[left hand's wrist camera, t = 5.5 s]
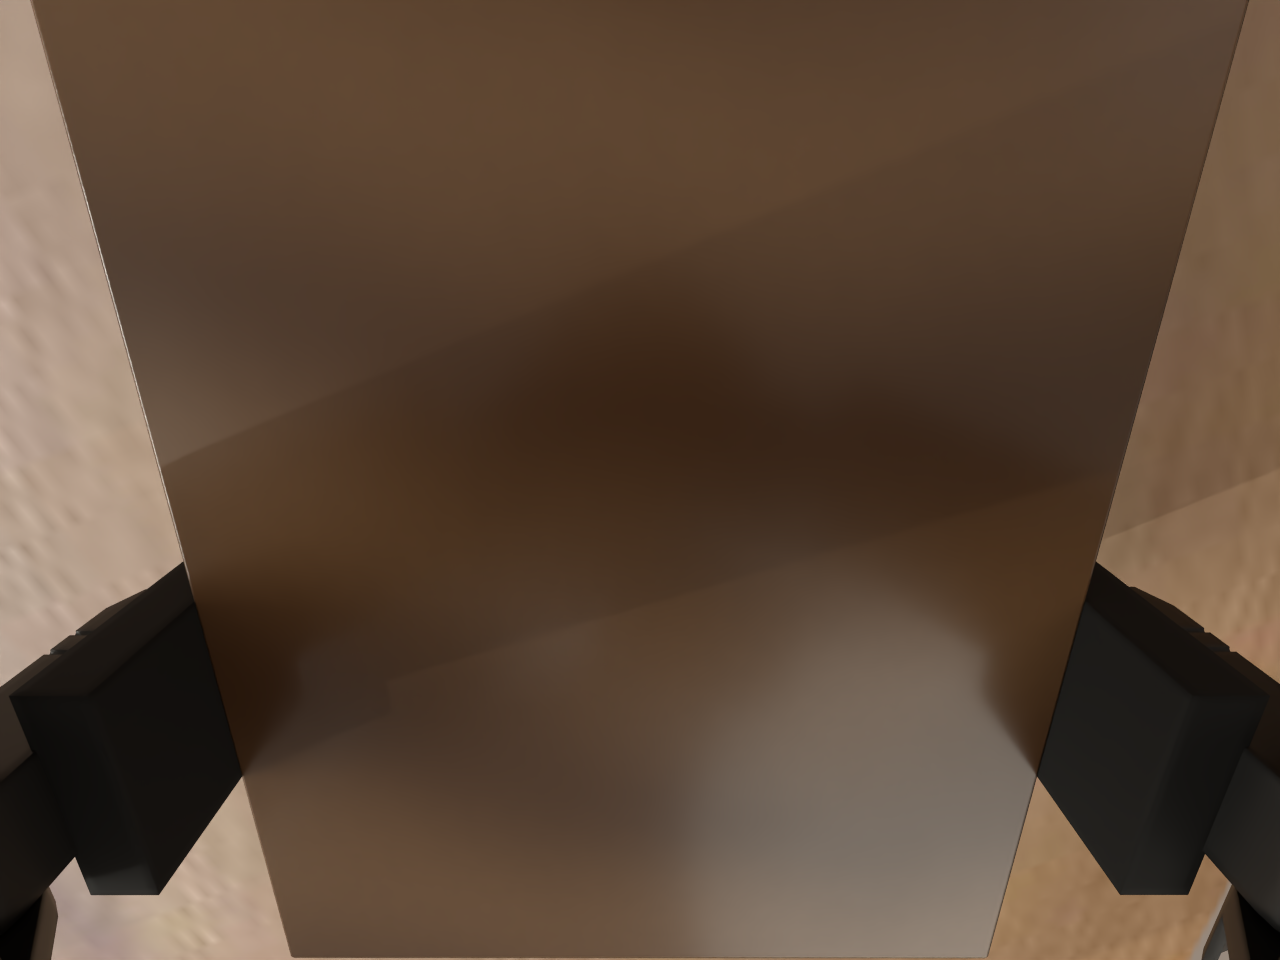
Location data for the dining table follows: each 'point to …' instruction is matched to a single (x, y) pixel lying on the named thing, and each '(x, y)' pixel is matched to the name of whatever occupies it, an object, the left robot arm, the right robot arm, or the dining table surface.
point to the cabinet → (639, 435)
